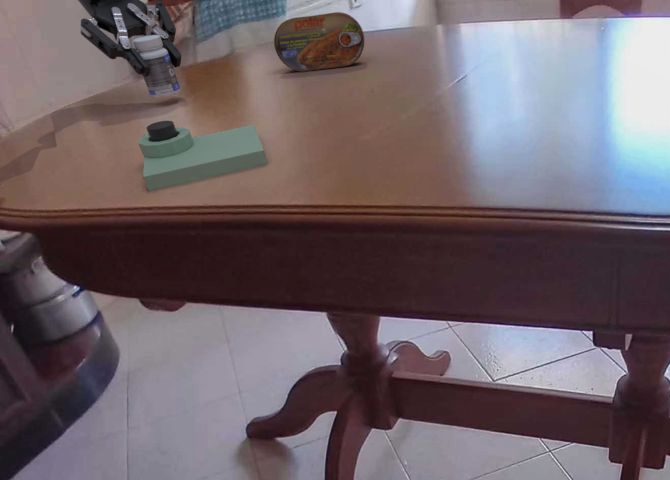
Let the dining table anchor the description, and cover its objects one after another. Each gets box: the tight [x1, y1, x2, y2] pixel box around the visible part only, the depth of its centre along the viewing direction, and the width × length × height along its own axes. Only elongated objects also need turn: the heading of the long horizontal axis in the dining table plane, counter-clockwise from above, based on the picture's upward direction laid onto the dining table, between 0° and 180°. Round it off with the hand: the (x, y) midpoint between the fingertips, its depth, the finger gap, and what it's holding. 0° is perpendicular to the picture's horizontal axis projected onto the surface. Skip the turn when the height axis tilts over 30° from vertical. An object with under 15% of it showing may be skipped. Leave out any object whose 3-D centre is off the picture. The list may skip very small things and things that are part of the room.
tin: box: [273, 11, 365, 73], centre depth 118 cm, size 15×3×8 cm, turn 92°
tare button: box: [146, 120, 178, 142], centre depth 87 cm, size 3×3×2 cm
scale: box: [137, 124, 269, 192], centre depth 87 cm, size 14×12×4 cm
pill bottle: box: [132, 35, 181, 99], centre depth 109 cm, size 5×5×8 cm
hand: (162, 68), depth 108 cm, fingers closed on pill bottle, 4 cm apart
